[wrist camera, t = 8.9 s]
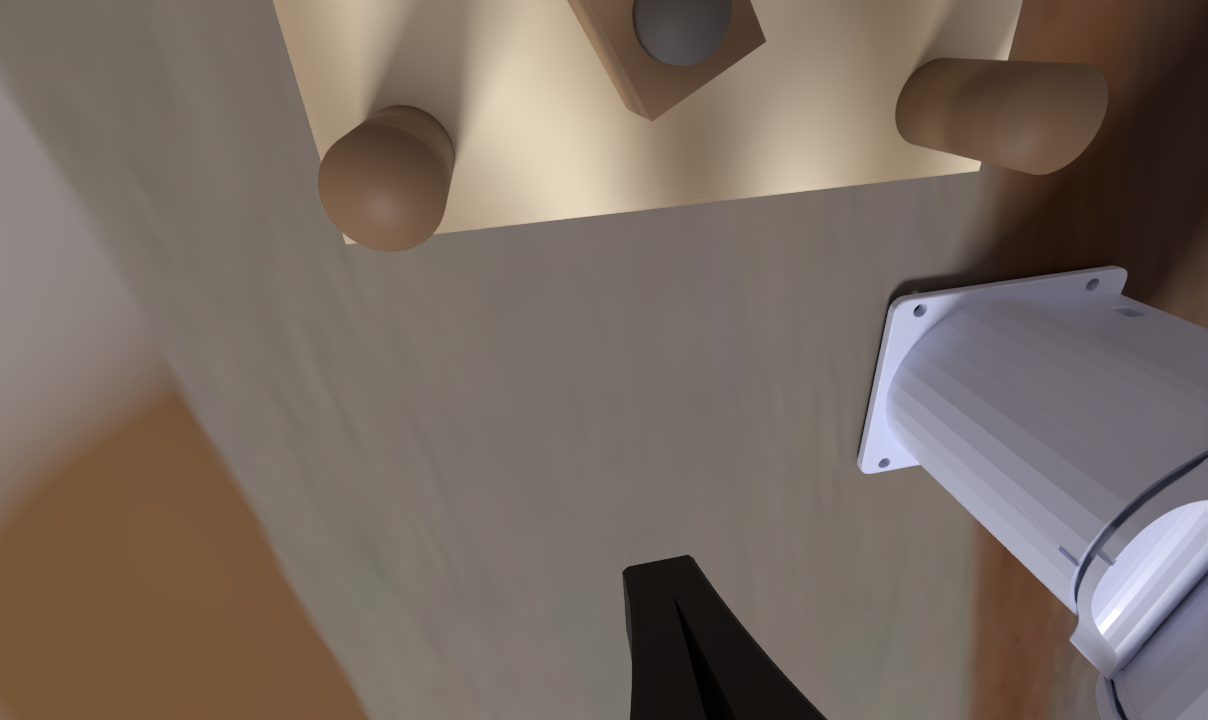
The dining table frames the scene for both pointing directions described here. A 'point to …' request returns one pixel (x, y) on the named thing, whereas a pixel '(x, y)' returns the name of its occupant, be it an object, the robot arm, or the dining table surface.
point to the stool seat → (676, 138)
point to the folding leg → (667, 45)
